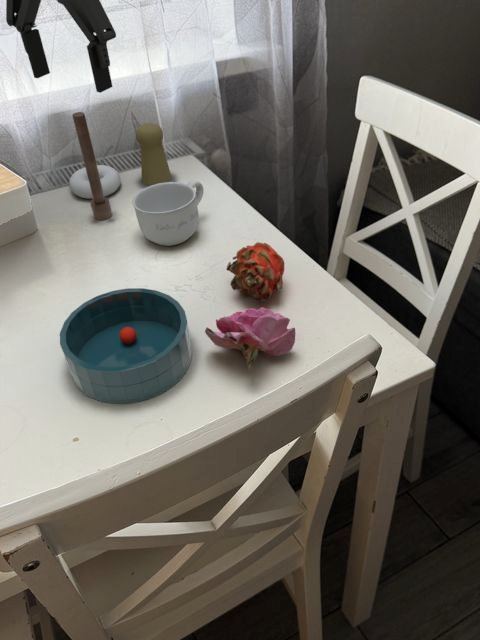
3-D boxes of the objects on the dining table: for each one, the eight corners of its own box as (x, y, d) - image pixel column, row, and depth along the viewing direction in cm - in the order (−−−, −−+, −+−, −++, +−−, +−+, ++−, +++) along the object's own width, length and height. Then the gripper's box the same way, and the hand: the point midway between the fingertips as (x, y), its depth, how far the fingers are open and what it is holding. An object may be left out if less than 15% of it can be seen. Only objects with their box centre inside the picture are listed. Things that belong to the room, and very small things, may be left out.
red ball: (117, 344, 84) (114, 331, 83) (128, 334, 86) (125, 321, 84) (130, 349, 83) (127, 337, 82) (141, 339, 85) (138, 326, 83)
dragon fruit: (258, 325, 90) (250, 286, 99) (303, 291, 87) (290, 255, 97) (221, 288, 85) (216, 252, 95) (267, 252, 83) (257, 218, 93)
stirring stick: (90, 217, 111) (63, 116, 98) (102, 209, 113) (78, 108, 100) (103, 222, 110) (78, 119, 96) (116, 213, 112) (93, 112, 98)
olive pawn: (144, 188, 118) (134, 134, 111) (140, 174, 123) (130, 122, 115) (174, 183, 119) (166, 129, 112) (169, 170, 124) (161, 117, 116)
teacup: (161, 261, 100) (153, 219, 94) (128, 234, 106) (119, 194, 101) (227, 230, 106) (224, 189, 101) (192, 207, 112) (187, 167, 107)
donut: (105, 173, 124) (62, 189, 119) (102, 157, 121) (57, 173, 117) (132, 189, 118) (87, 207, 113) (129, 173, 116) (83, 190, 111)
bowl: (45, 375, 81) (32, 342, 77) (125, 307, 91) (118, 275, 87) (139, 422, 75) (130, 389, 70) (214, 343, 85) (210, 311, 81)
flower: (228, 349, 88) (254, 288, 86) (281, 382, 84) (310, 319, 82) (181, 353, 79) (209, 284, 76) (238, 391, 74) (269, 320, 72)
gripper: (121, -83, 76) (149, 87, 91) (-8, -92, 86) (35, 63, 101) (80, -73, 72) (116, 104, 86) (-52, -84, 82) (0, 77, 96)
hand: (72, 82), depth 94 cm, fingers open, 13 cm apart
